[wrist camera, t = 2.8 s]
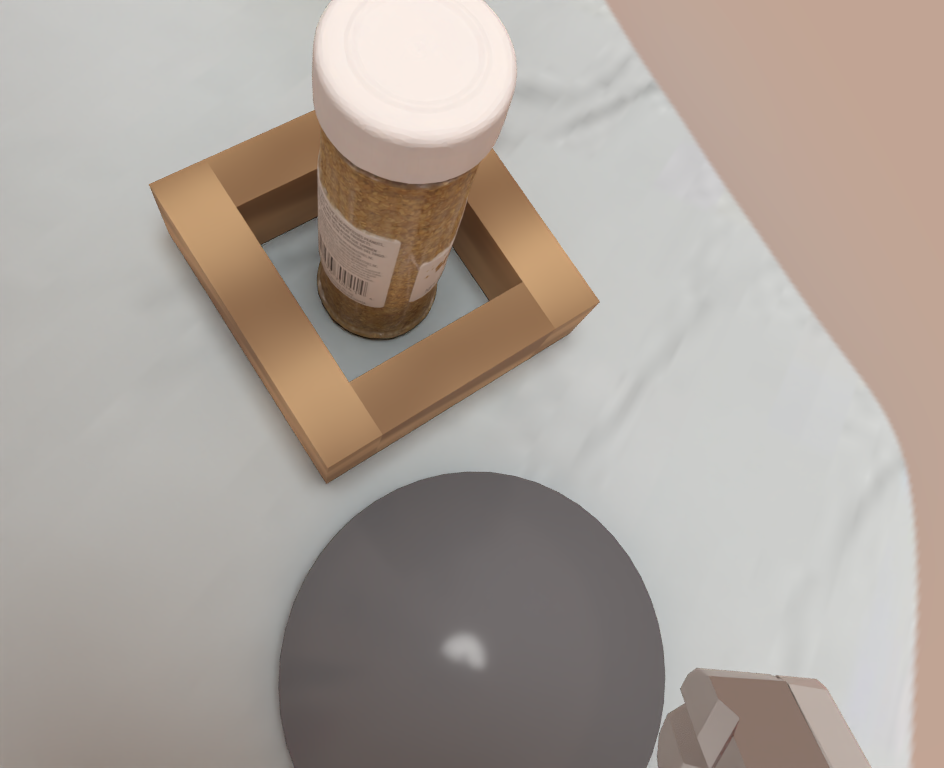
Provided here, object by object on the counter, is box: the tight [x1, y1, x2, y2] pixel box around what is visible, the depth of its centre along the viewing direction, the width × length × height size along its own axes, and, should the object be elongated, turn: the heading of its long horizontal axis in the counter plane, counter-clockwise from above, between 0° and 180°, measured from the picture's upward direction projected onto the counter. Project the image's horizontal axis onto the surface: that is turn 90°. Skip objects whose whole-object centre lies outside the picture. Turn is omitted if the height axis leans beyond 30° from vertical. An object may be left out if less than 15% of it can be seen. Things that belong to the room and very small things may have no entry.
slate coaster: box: [279, 472, 665, 768], centre depth 26 cm, size 13×13×1 cm
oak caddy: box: [149, 110, 600, 484], centre depth 28 cm, size 11×11×4 cm
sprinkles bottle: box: [312, 0, 517, 338], centre depth 23 cm, size 5×5×13 cm
